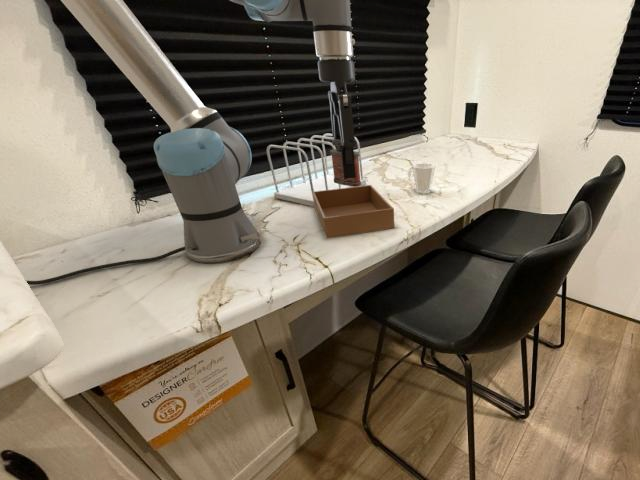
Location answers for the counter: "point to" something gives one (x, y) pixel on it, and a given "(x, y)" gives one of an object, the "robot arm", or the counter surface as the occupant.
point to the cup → (422, 177)
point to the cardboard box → (352, 211)
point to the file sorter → (309, 173)
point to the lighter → (339, 167)
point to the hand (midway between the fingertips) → (346, 173)
